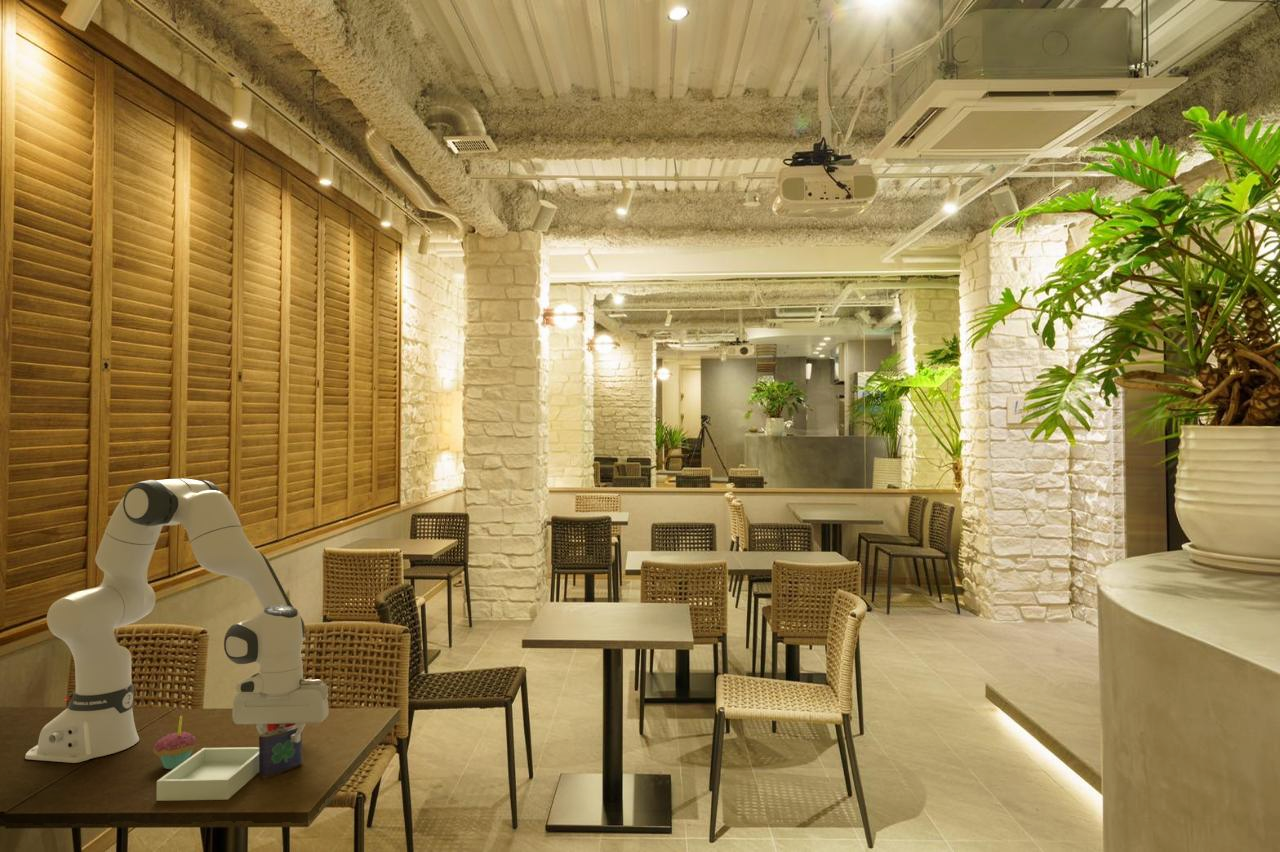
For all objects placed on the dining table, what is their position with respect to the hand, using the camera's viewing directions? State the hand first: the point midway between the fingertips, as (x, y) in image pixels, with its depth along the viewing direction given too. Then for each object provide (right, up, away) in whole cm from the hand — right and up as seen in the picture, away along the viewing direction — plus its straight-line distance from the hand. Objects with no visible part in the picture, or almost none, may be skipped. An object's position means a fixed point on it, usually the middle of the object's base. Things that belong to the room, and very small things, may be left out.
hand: (281, 742), depth 167 cm
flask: (0, -7, 0) cm, 6 cm away
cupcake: (-26, -7, +4) cm, 27 cm away
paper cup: (-7, -7, +15) cm, 18 cm away
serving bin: (-12, -6, -5) cm, 14 cm away
